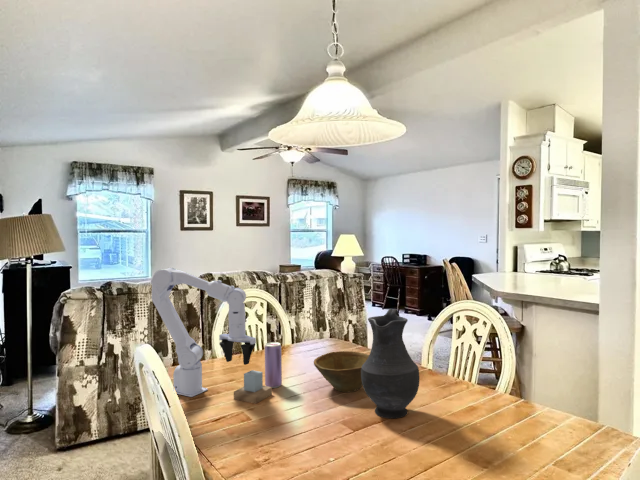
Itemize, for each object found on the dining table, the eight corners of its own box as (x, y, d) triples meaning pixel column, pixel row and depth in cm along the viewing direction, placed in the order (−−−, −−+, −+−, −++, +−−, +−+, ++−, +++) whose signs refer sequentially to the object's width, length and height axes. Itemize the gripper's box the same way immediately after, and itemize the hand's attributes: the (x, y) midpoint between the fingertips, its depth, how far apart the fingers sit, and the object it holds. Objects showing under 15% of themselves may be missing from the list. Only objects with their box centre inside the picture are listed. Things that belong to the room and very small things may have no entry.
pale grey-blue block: (243, 390, 145) (243, 373, 145) (252, 386, 149) (252, 370, 149) (254, 392, 143) (254, 375, 143) (262, 388, 147) (262, 372, 147)
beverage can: (279, 389, 153) (278, 346, 153) (262, 388, 154) (262, 345, 154) (283, 383, 159) (283, 342, 159) (268, 382, 160) (267, 341, 160)
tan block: (233, 400, 144) (233, 391, 144) (250, 391, 152) (250, 383, 152) (255, 405, 140) (255, 395, 140) (271, 396, 148) (271, 387, 148)
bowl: (304, 382, 159) (304, 355, 159) (359, 374, 168) (359, 348, 168) (329, 403, 139) (328, 372, 139) (390, 392, 148) (390, 363, 148)
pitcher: (355, 419, 127) (353, 316, 126) (371, 394, 146) (370, 305, 146) (415, 427, 121) (414, 319, 120) (424, 401, 140) (423, 307, 140)
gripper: (213, 323, 151) (213, 362, 151) (246, 327, 144) (247, 368, 145) (226, 320, 158) (227, 357, 158) (259, 323, 151) (259, 362, 151)
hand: (237, 362), depth 151 cm, fingers open, 7 cm apart
